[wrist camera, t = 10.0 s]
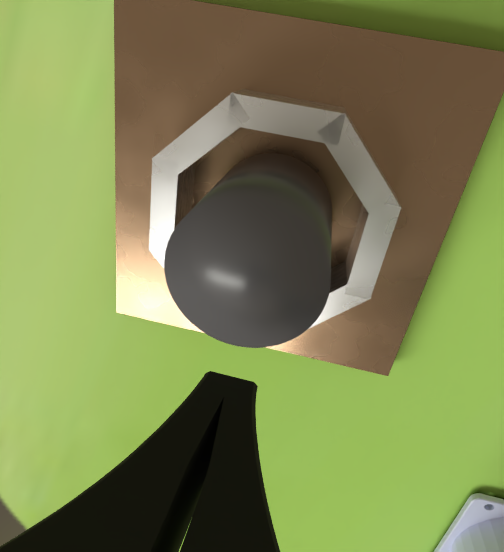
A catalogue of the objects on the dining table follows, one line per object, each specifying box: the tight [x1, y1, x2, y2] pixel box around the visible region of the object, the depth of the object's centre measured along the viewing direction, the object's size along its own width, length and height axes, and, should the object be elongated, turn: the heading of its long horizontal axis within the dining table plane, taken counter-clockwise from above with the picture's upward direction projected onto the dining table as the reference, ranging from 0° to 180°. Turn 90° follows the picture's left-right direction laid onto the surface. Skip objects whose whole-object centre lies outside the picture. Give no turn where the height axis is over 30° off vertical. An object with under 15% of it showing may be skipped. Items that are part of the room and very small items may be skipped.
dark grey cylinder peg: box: [164, 153, 332, 348], centre depth 15 cm, size 5×5×6 cm
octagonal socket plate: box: [114, 0, 504, 376], centre depth 17 cm, size 14×14×3 cm
